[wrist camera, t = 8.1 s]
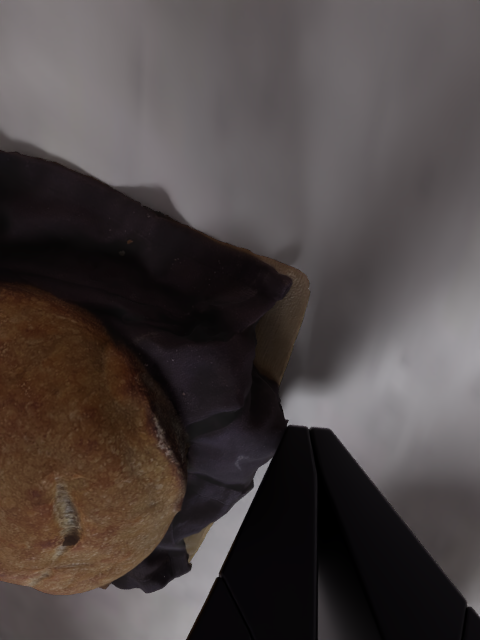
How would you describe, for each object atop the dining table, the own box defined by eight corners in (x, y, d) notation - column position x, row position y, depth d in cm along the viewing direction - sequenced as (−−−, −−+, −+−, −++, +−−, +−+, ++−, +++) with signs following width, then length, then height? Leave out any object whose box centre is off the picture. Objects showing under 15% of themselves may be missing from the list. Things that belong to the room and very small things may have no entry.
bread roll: (198, 557, 12) (169, 715, 9) (-57, 477, 11) (-194, 617, 8) (355, 271, 7) (422, 382, 4) (-70, 105, 7) (-420, 69, 3)
